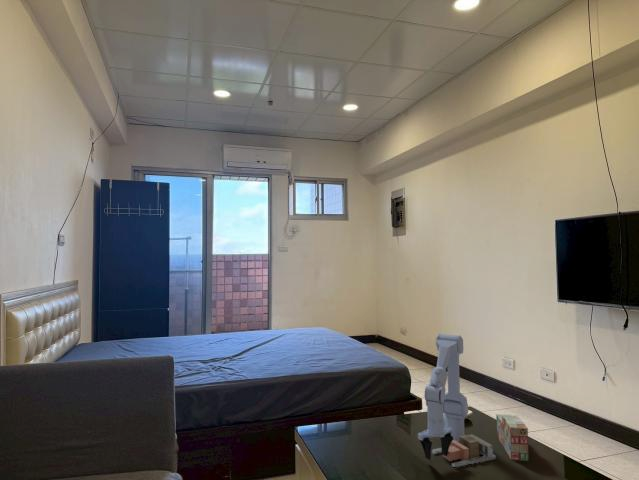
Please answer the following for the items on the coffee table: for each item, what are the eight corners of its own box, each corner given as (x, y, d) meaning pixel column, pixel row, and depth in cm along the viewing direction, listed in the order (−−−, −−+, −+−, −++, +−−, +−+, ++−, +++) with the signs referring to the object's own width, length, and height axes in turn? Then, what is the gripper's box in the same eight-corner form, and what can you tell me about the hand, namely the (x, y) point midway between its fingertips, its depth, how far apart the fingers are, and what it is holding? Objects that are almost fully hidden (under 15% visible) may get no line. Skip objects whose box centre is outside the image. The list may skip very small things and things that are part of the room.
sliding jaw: (439, 454, 156) (439, 442, 156) (455, 450, 159) (454, 439, 159) (453, 463, 148) (453, 451, 149) (469, 460, 151) (469, 448, 151)
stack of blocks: (496, 436, 172) (495, 406, 173) (512, 437, 171) (511, 407, 172) (511, 460, 151) (509, 426, 152) (529, 461, 150) (528, 427, 151)
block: (459, 452, 158) (459, 436, 158) (467, 450, 160) (467, 434, 160) (470, 459, 152) (470, 442, 153) (479, 457, 154) (478, 441, 154)
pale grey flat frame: (432, 452, 158) (431, 440, 158) (471, 444, 165) (470, 433, 165) (454, 468, 146) (454, 455, 146) (495, 458, 152) (495, 446, 153)
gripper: (425, 425, 145) (426, 465, 144) (458, 419, 150) (459, 457, 150) (414, 418, 152) (414, 456, 151) (446, 413, 157) (446, 449, 156)
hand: (436, 456), depth 151 cm, fingers open, 7 cm apart
